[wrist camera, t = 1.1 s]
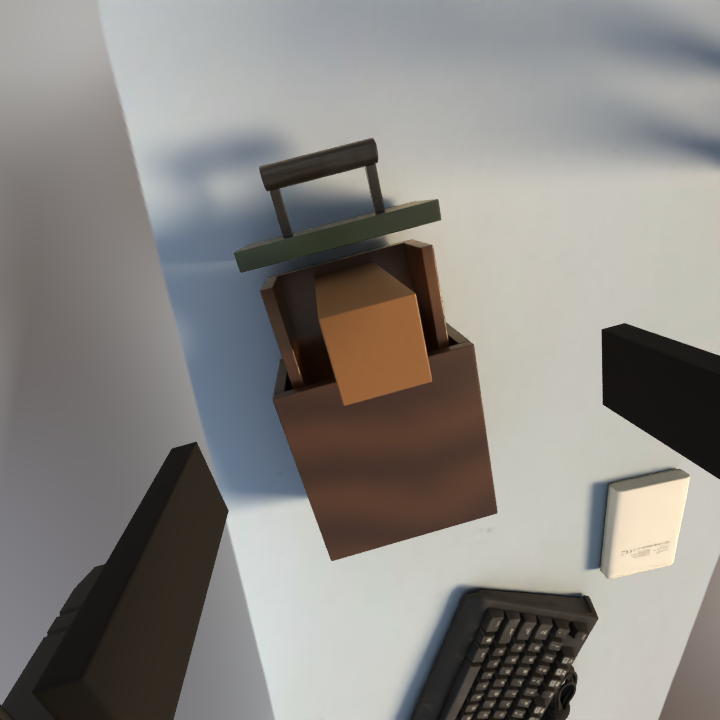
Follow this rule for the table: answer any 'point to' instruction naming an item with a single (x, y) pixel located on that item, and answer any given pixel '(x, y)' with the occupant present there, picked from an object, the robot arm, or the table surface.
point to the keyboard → (508, 658)
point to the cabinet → (392, 454)
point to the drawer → (297, 289)
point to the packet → (371, 332)
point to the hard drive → (643, 522)
